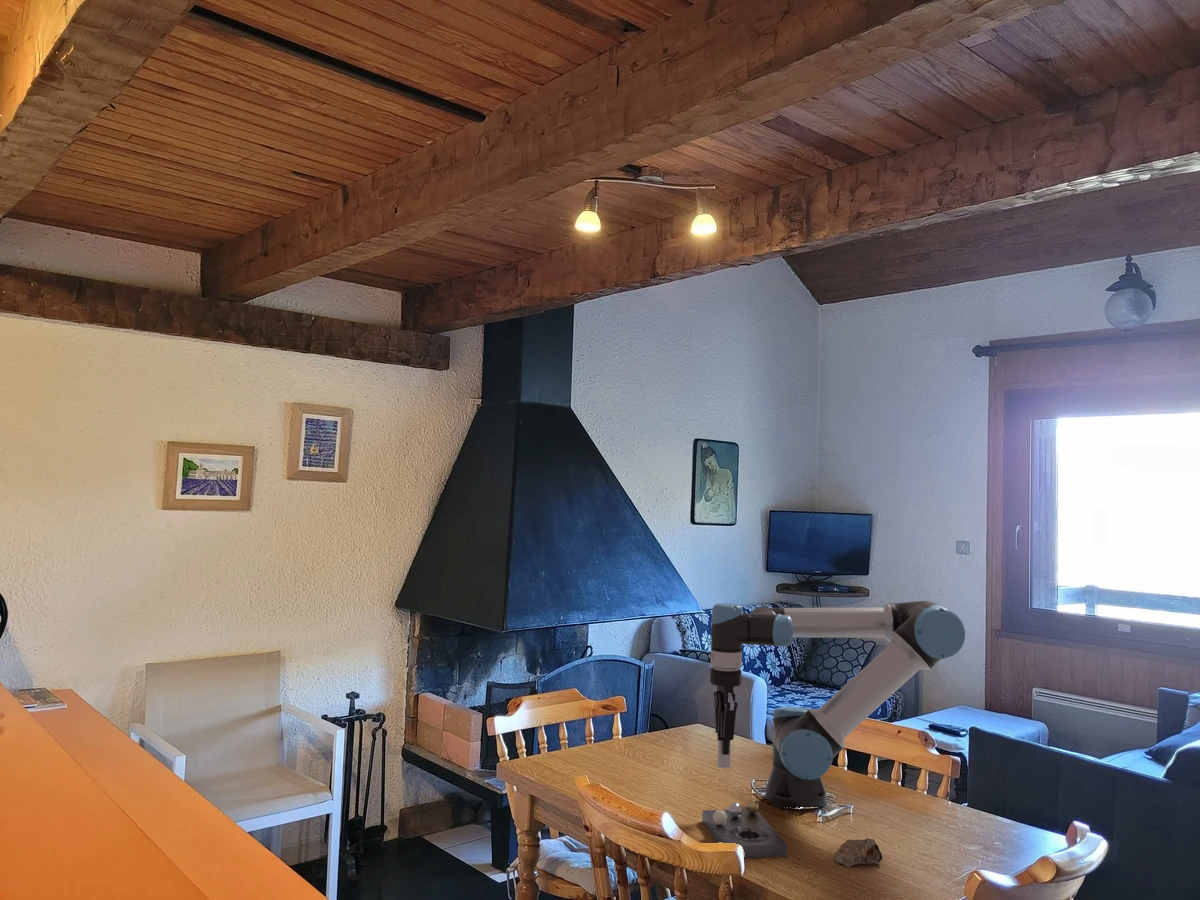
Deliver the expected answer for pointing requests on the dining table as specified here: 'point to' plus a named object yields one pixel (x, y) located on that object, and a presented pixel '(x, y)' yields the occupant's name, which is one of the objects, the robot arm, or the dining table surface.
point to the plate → (747, 834)
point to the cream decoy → (720, 817)
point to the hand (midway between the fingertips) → (723, 766)
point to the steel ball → (735, 810)
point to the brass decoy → (752, 806)
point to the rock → (858, 852)
